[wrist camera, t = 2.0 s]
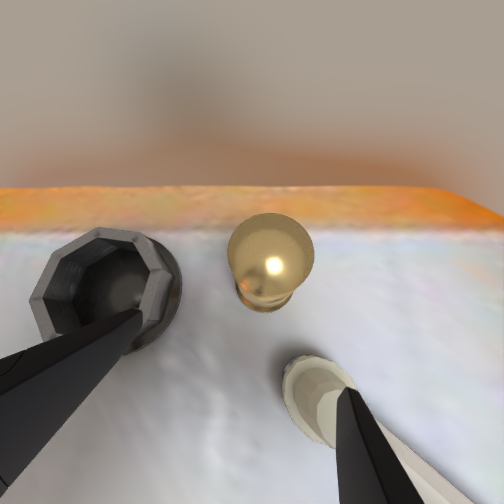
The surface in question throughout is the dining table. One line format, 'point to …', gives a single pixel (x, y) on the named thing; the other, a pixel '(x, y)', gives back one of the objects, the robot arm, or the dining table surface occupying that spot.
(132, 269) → the collar fitting
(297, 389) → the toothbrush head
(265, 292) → the gold bulb-shaped piece
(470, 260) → the dining table surface
